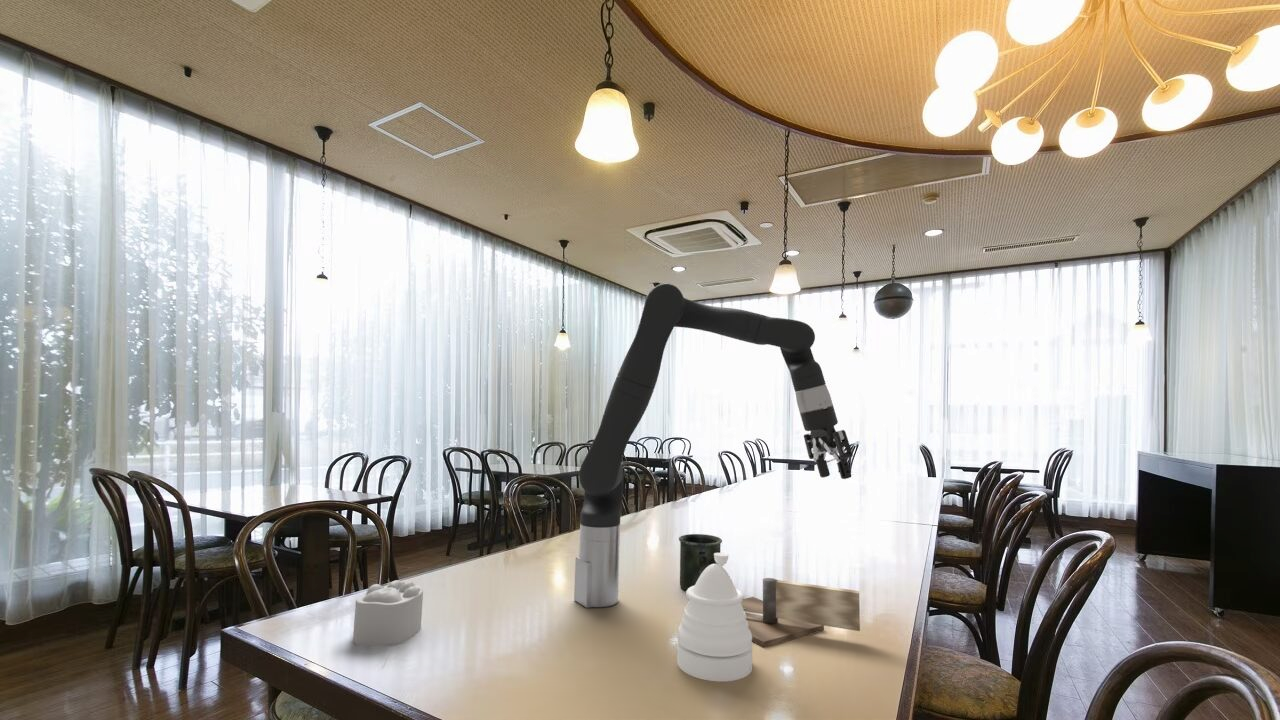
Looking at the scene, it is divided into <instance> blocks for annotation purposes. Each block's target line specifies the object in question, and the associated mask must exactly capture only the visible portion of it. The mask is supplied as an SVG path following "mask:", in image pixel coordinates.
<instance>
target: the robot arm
mask: <svg viewBox="0 0 1280 720" xmlns="http://www.w3.org/2000/svg"><path fill="white" fill-rule="evenodd" d="M640 317H641V318H640V320H639V324H638V327H637V330H636V333H635V336H634V338H633V341H632V343H631V344H630V347H629V349H628V350H627V352H626V355H625V356H624V359H623V361H622V363H621V366H620V368H619V370H618V372H617V376H616V377H615V380H614V383H613V386H612V389H611V390H610V393H609V396H608V400H607V402H606V405H605V408H604V412H603V415H602V419H601V421H600V424H599V425H600V426H599V428H598V430H597V433H596V436H595V438H594V439H593V441H592V444H591V445H590V448H589V450H588V452H587V453H586V456H585V457H584V459H583V462H582V463H581V465H580V467H579V473H578V477H579V478H578V479H579V483H580V487H581V488H582V490H583V491H584V499H583V504H582V508H581V511H580V516H579V517H580V521H579V525H580V526H579V545H578V546H579V549H578V551H579V552H578V556H576V557H575V561H574V562H575V565H574V566H575V567H574V595H573V601H575V602H577V603H578V604H580V605H581V606H583V607H585V608H604V607H606V608H607V607H610V606H614V605H616V604H617V603H618V601H619V581H620V580H619V578H620V571H619V570H620V543H621V542H620V541H621V537H620V536H621V514H622V509H623V498H624V497H623V495H624V467H623V464H622V460H623V457H624V454H625V451H626V447H627V445H628V443H629V440H630V439H631V437H632V435H633V433H634V432H635V430H636V428H637V427H638V425H639V424H640V421H642V418H643V416H644V414H645V413H646V410H647V409H648V408H647V407H648V406H649V404H650V401H651V398H652V396H653V393H654V390H655V388H656V385H657V381H658V378H659V374H660V370H661V366H662V361H663V357H664V352H665V348H666V346H667V342H668V340H669V338H670V335H671V334H672V332H673V329H674V328H675V327H676V328H684V329H685V328H686V329H691V330H692V329H694V330H698V331H703V332H709V333H713V334H715V335H716V334H717V335H720V336H723V337H728V338H730V339H733V340H734V339H735V340H738V341H742V342H745V343H749V344H754V345H759V346H760V345H761V346H762V345H763V346H764V345H766V346H767V345H768V346H773V347H777V348H779V349H780V353H781V355H782V357H783V359H784V362H785V365H786V367H787V369H788V370H789V373H790V377H791V378H790V379H791V382H792V386H793V390H794V392H795V393H794V394H795V398H796V403H797V408H798V411H799V412H798V413H799V414H800V418H801V422H802V426H803V428H804V431H806V432H809V433H806V434H804V435H803V438H804V443H805V446H806V447H805V448H806V451H807V455H808V458H809V459H810V460H813V461H814V462H815V463H816V466H817V469H818V473H819V474H818V475H819V476H820V478H827V477H829V476H830V475H831V473H830V471H829V467H828V463H827V459H826V454H827V453H828V454H829V455H830V456H832V457H833V458H834V459H835V461H836V465H837V468H838V472H839V475H840V478H841V479H842V480H847V479H850V478H851V477H852V472H851V468H850V466H849V461H848V460H849V459H850V458H852V457H853V456H854V455H853V451H852V448H851V445H850V442H849V439H848V436H847V433H846V430H844V429H840V430H837V431H836V428H835V426H837V424H838V422H839V421H838V417H837V415H836V411H835V408H834V404H833V400H832V397H831V394H830V392H829V390H828V386H827V384H826V381H825V376H824V373H823V370H822V368H821V366H820V363H819V362H817V361H816V360H815V357H814V354H813V351H812V349H811V348H812V346H813V345H814V343H815V341H816V333H815V331H814V329H813V328H812V327H811V326H810V325H809V324H808V323H806V322H804V321H800V320H795V319H789V318H783V317H772V316H768V315H766V314H765V315H764V314H761V313H757V312H753V311H749V310H745V309H739V308H733V307H732V308H731V307H721V306H713V305H707V304H703V303H699V302H697V301H693V300H690V299H688V298H686V297H684V295H683V293H682V291H681V290H680V289H679V288H678V286H676V285H675V284H671V283H667V282H666V283H665V282H664V283H660V284H658V285H656V286H654V287H652V289H650V290H649V292H648V293H647V295H646V297H645V301H644V305H643V310H642V313H641V316H640Z"/></svg>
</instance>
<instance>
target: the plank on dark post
mask: <svg viewBox="0 0 1280 720" xmlns="http://www.w3.org/2000/svg"><path fill="white" fill-rule="evenodd" d="M762 601H763V614H758V613H752V612H745V611H744V612H745V614H746V616H750V617H757V618H763V621H764V622H766V623H777V622H778V618H780V619H786V620H792V621H799V622H805V623H811V624H817V625H824V627H831V628H837V629H843V630H850V631H855V632H860V630H861V616H860V615H861V613H860V611H861V610H860V591H859V590H855V589H849V588H848V589H846V588H841V587H833V586H824V585H817V584H812V583H811V584H810V583H802V582H796V581H789V580H788V581H787V580H780V579H776V578H772V577H764V578H762Z"/></svg>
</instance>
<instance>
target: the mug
mask: <svg viewBox="0 0 1280 720" xmlns="http://www.w3.org/2000/svg"><path fill="white" fill-rule="evenodd" d="M678 541H679V543H680V545H679V546H680V548H679V552H680V553H679V562H680V563H679V587H680V588H681V589H682V590H684V591H685V592H686V591H687V589H688V588H690V587H692V586H694V585H695V584H696V582H697V580H698V578H699V577H700V575H701V574H702V572H703V571H704V570H705V568H706V567H708V566H709V565H711V564H717V563H716V561H715V559H714V553H721V546H722V545H721V544H723V539H722V538H720V537H718V536H716V535H710V534H705V533H704V534H702V533H701V534H700V533H690V534H684V535H683V534H682V535H681V536H679V537H678Z"/></svg>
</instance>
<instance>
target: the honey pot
mask: <svg viewBox="0 0 1280 720" xmlns="http://www.w3.org/2000/svg"><path fill="white" fill-rule="evenodd" d="M714 559H715V561H716V563H717V564H711V565H709V566H708V567H706V568H705V570H704V571H703V572H702V574H701V575H700V577H699V578H698V580H697V582H696V584H695V585H694V586H692V587H690V588H688V589H687V591H685V593H686V594H685V595H686V597H687V598H688V602H687V605H686V606H685V608H684V610H683V615H682V618H681V622H680V624H679V626H678V628H677V644H676V646H677V649H676V654H677V655H676V657H677V658H676V662H677V667H678V668H679V669H680V670H681V671H683V672H684V673H685V674H687V675H689V676H691V677H694V678H697V679H701V680H703V681H710V682H732V681H737V680H742V679H743V678H745V677H748V676H749V674H751V672H752V670H753V642H752V634H751V632H750V630H749V628H748V622H747V620H746V614H745V612H744V611H743V607H742V604H741V602H742V600H743V599H745V597H744V594H743V592H742V591H741V590H740V589H738V588H736V586H735V584H734V582H733V580H732V578H731V576H730V575H729V573H728V572H727V570H726V568H724V567H723V566H725V565H726V564H727V563H728V560H729V554H728V553H726V552H720V553H714Z"/></svg>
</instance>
